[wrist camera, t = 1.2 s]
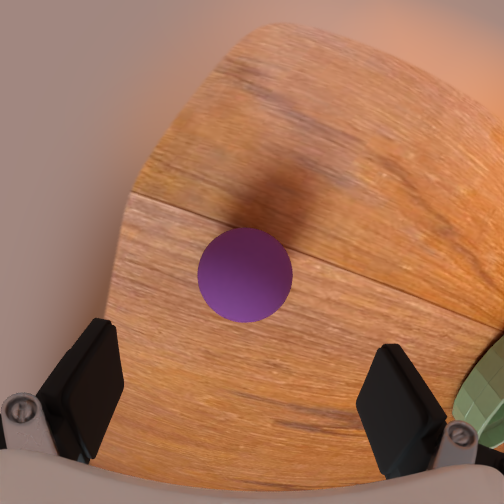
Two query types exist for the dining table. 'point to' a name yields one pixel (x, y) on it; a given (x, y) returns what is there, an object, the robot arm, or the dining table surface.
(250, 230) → the ball
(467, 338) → the dining table surface
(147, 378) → the dining table surface
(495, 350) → the green bowl
